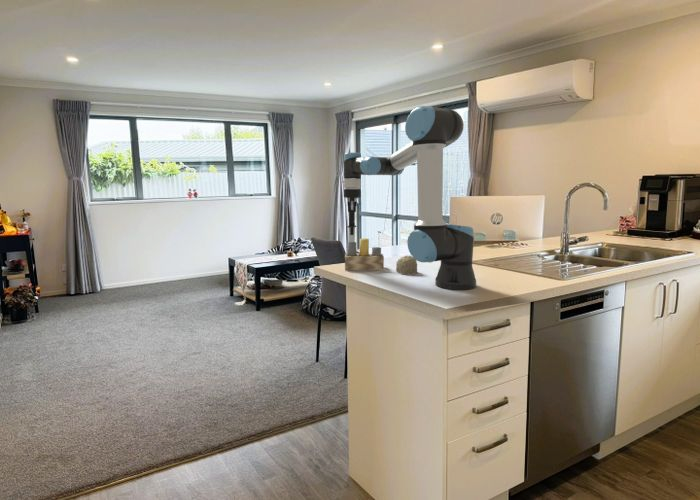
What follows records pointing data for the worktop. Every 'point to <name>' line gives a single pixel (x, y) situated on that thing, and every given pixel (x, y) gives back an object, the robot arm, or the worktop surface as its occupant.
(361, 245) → the mustard plug
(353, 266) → the socket block
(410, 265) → the sponge
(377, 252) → the grey plug
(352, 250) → the grey plug
